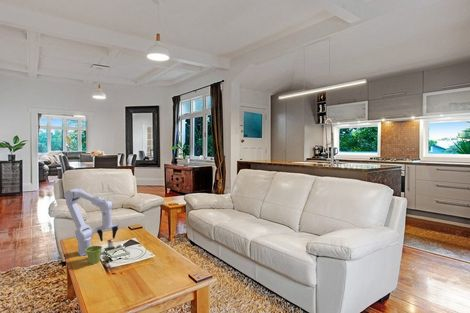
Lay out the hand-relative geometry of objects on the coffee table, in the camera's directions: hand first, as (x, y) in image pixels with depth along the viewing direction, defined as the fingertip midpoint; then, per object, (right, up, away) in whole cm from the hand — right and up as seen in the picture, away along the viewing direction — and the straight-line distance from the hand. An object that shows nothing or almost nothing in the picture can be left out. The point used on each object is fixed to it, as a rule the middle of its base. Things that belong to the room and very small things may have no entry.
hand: (107, 239), depth 186 cm
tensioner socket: (-1, -10, +6) cm, 11 cm away
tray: (+7, -10, -1) cm, 13 cm away
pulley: (+5, -10, +10) cm, 15 cm away
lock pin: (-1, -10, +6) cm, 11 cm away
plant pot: (-4, -11, -10) cm, 16 cm away
